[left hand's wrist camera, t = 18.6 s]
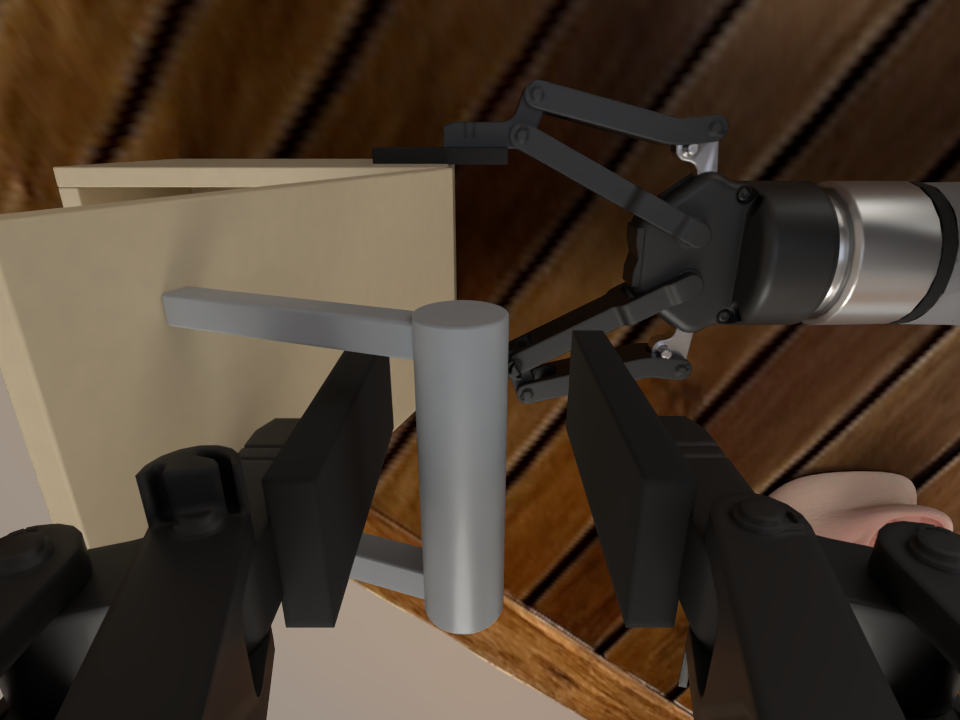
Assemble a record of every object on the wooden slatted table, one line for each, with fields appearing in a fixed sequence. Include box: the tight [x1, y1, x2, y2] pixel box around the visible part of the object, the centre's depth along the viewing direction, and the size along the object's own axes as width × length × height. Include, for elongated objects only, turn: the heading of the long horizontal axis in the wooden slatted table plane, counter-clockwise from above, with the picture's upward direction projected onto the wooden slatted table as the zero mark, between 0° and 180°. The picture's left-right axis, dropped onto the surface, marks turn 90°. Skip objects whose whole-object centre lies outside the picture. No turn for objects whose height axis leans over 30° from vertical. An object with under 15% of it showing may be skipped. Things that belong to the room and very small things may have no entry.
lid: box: [0, 168, 509, 634], centre depth 16 cm, size 18×9×8 cm
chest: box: [53, 159, 457, 300], centre depth 31 cm, size 17×9×11 cm, turn 90°
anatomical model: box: [769, 471, 953, 547], centre depth 42 cm, size 13×4×12 cm
